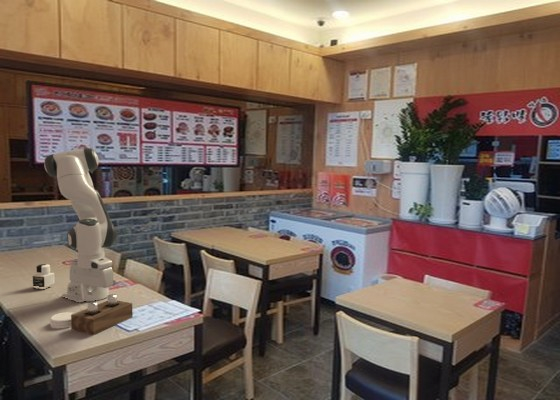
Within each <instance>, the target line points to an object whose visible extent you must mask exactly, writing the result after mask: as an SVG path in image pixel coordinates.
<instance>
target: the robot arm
mask: <svg viewBox="0 0 560 400" xmlns="http://www.w3.org/2000/svg"><path fill="white" fill-rule="evenodd" d="M99 162H100V161H99V156H98V154H97V153H96V151H95V150H94V149H93V148H90V147H86V148H85V147H84V148H80V149H79V148H78V149H69V150H67V151H62V152H58V153H55V154H54V153H52V154H49V155H47V156H45V158H44V162H43V163H44V165H43V166H44V169H45V171H46V173H47V175H48V176H50V177H51V178H57V179H56V180H57V185H58V186H57V187H58V189H59V192H60V194H61V195H62V196H63V198H65V199H67V200H69V201H70V203H71V207H72V209H73V210H74V212H75V214H76V215H77V217H78V219H79V220H78V222H76V225H75V226H73V227H71V228H70V229H69V230H68V231H67V246H68V247H70V248H71V249H73V250H77V254H76V255H77V258H74V259H72V261H71V262H70V263H71V264H70V267H69V281H70V282H69V283H68V284H67V289H66V292H64V293H62V294H61V297H62V296H64V297H67V298H69V299H71V300H74V301H76V302H75V303H77V302H79V303H85V302H84V301H86V302H93V301H95V300H96V301H100V300H103V299H107V298H108V297H107V296H108V295H110V292H109V291H110V289H109V288H110V287H112V286H113V284H114V270H113V268H112V266H113V265H114V264H113V261H112V260H111V259H109V258H108V257H106V256H105V254H106V253H105V250H104V248H110V247H112V246H113V245H114V244H115V243H116V241H117V239H118V233H117V229H116V227H115V226H114V224H113V222H112V219H111V218H110V215H109V213H108V210H107V208H106V206H105V203H104V201H103V199H102V197H101V195H100V193H99V191H98V190H97V189H95V187H94V183H93V180H92V177H91V175H90V173H91V174H93V172H94V171H96V170H97V169H98V167H99ZM65 293H67V294H65ZM69 299H68V300H69ZM71 300H70V301H71ZM74 301H73V302H74ZM96 301H95V302H96Z"/></svg>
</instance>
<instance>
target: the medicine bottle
mask: <svg viewBox="0 0 560 400" xmlns="http://www.w3.org/2000/svg"><path fill="white" fill-rule="evenodd" d="M55 281H56V279H55V272H51V265H50V264H48V263H43V264H38V265H37V266H36V274H32V286H39V287H46V286H49V285H51V284H54V283H55ZM55 284H56V283H55Z"/></svg>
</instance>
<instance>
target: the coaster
mask: <svg viewBox="0 0 560 400" xmlns="http://www.w3.org/2000/svg"><path fill="white" fill-rule="evenodd" d="M74 313H76V311H75V312H74V311H66V312H65V311H64V312H59V313H56V314H54V315H52V316H51V317H50V318H49V321H50V322H49V323H50V327H51V328H53V329H55V330H57V329H58V330H59V329H67V328H72V326H71V315H72V314H74Z"/></svg>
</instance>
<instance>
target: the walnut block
mask: <svg viewBox="0 0 560 400" xmlns="http://www.w3.org/2000/svg"><path fill="white" fill-rule="evenodd" d="M97 304H98V313H97V314H95V315H93V316H92V315H88V307H87V308H84V309H82V310H80V311H76V312H75V313H74V314H72V315H71V330H72V331H77V332H80V333H85V334H89V335H93V336H95V335H97V334H99V333H101V332H103V331H106V330H108V329H110V328H112V327H114V326H116V325H118V324H120V323H122V322H126V321H127V320H129V319H132V318H133V303H132V302H127V301H122V300H117V306H114V307H108V300H106V301H103V302H101V303H97Z"/></svg>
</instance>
